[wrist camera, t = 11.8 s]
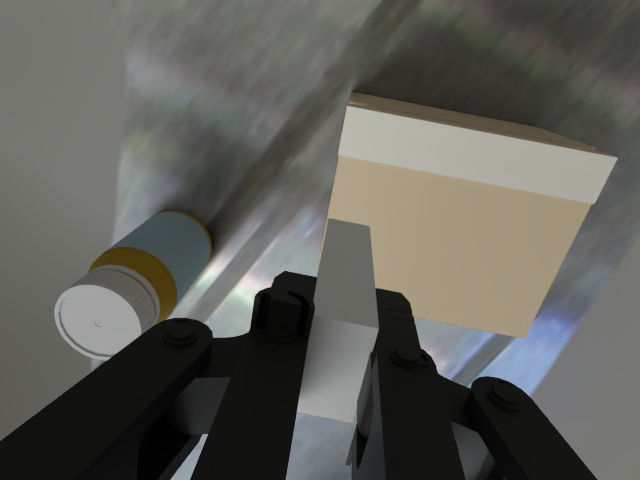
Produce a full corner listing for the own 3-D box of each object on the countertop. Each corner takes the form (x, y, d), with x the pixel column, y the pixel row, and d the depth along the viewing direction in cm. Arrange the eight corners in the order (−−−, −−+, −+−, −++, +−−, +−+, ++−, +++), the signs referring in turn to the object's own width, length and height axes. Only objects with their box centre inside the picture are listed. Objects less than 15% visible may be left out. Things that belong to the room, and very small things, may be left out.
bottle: (177, 193, 42) (88, 258, 28) (228, 246, 43) (168, 331, 30) (131, 236, 44) (27, 316, 30) (182, 284, 45) (105, 381, 32)
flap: (522, 331, 33) (525, 339, 32) (311, 291, 33) (310, 297, 32) (610, 153, 26) (618, 157, 26) (347, 103, 26) (347, 105, 26)
